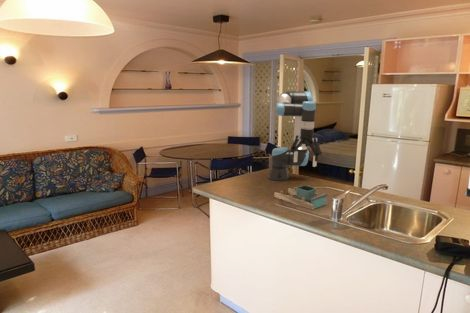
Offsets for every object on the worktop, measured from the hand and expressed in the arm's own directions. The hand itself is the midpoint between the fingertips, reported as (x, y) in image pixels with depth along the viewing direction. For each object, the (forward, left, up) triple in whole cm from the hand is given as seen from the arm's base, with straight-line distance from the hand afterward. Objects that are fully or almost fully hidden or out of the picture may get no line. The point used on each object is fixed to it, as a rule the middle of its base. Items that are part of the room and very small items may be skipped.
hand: (304, 164), depth 198 cm
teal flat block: (+1, +12, -23) cm, 26 cm away
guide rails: (+1, -1, -23) cm, 23 cm away
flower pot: (+1, +3, -23) cm, 23 cm away
